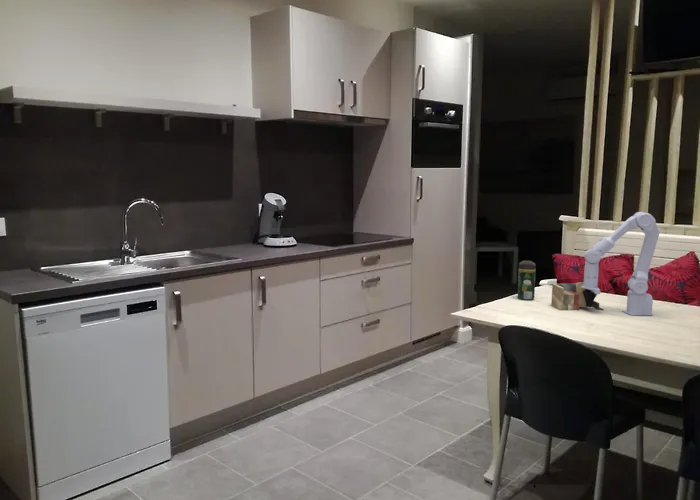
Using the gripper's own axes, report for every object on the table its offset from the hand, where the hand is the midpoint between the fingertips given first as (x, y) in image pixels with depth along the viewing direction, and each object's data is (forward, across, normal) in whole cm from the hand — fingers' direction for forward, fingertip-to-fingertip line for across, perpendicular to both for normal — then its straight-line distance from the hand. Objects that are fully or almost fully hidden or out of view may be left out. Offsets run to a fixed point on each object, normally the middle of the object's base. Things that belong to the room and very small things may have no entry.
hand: (589, 306), depth 244 cm
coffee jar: (+2, -24, -20) cm, 32 cm away
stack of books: (+2, -6, -3) cm, 7 cm away
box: (+1, -3, 0) cm, 3 cm away
